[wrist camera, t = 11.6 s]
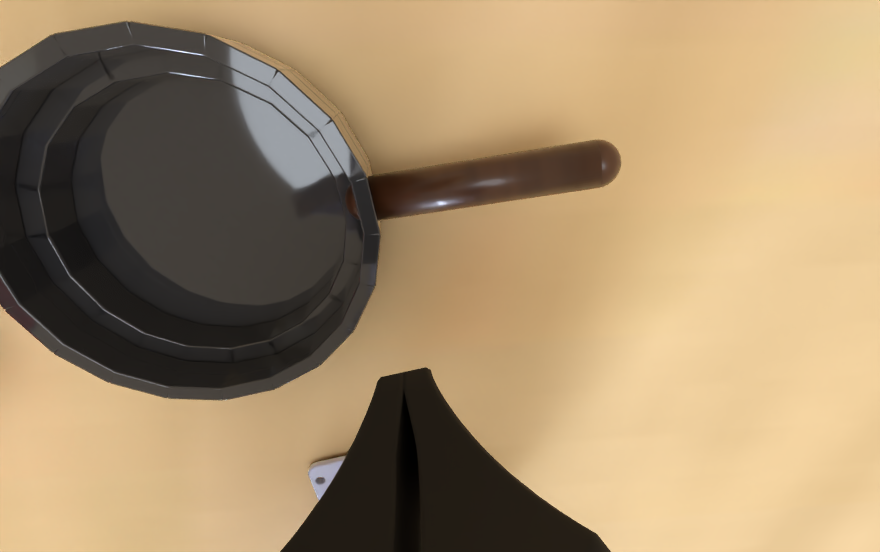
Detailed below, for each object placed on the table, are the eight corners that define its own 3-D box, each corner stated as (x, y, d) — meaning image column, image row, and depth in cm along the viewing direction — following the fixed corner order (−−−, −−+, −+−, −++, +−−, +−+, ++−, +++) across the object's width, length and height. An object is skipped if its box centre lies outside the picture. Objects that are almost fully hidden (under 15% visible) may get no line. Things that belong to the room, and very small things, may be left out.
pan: (404, 312, 22) (410, 360, 18) (133, 370, 21) (82, 431, 17) (334, 5, 16) (322, -14, 13) (-33, 70, 16) (-156, 69, 12)
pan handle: (352, 218, 17) (348, 245, 15) (341, 177, 17) (335, 197, 14) (591, 170, 18) (630, 187, 15) (590, 128, 17) (630, 138, 14)
